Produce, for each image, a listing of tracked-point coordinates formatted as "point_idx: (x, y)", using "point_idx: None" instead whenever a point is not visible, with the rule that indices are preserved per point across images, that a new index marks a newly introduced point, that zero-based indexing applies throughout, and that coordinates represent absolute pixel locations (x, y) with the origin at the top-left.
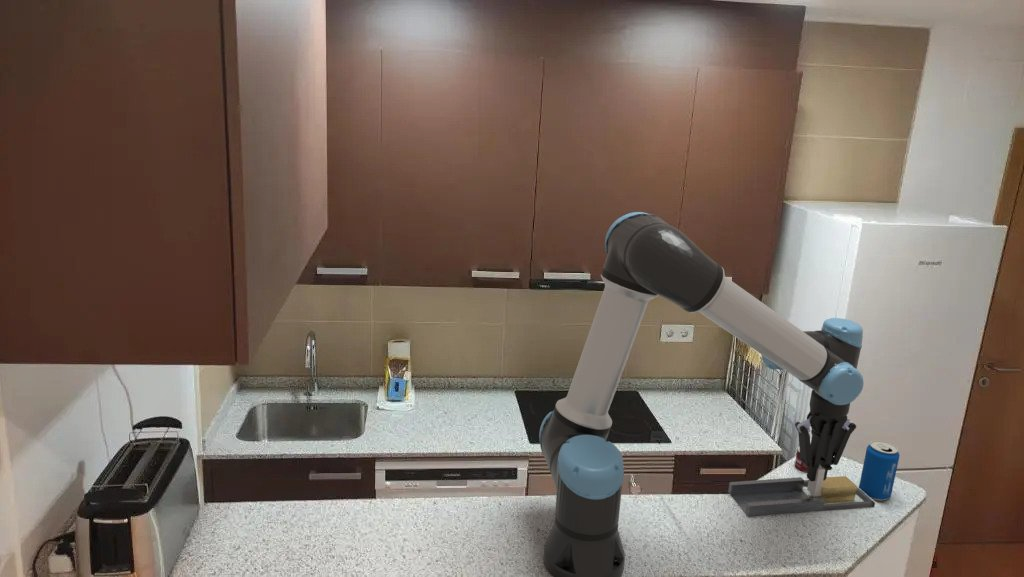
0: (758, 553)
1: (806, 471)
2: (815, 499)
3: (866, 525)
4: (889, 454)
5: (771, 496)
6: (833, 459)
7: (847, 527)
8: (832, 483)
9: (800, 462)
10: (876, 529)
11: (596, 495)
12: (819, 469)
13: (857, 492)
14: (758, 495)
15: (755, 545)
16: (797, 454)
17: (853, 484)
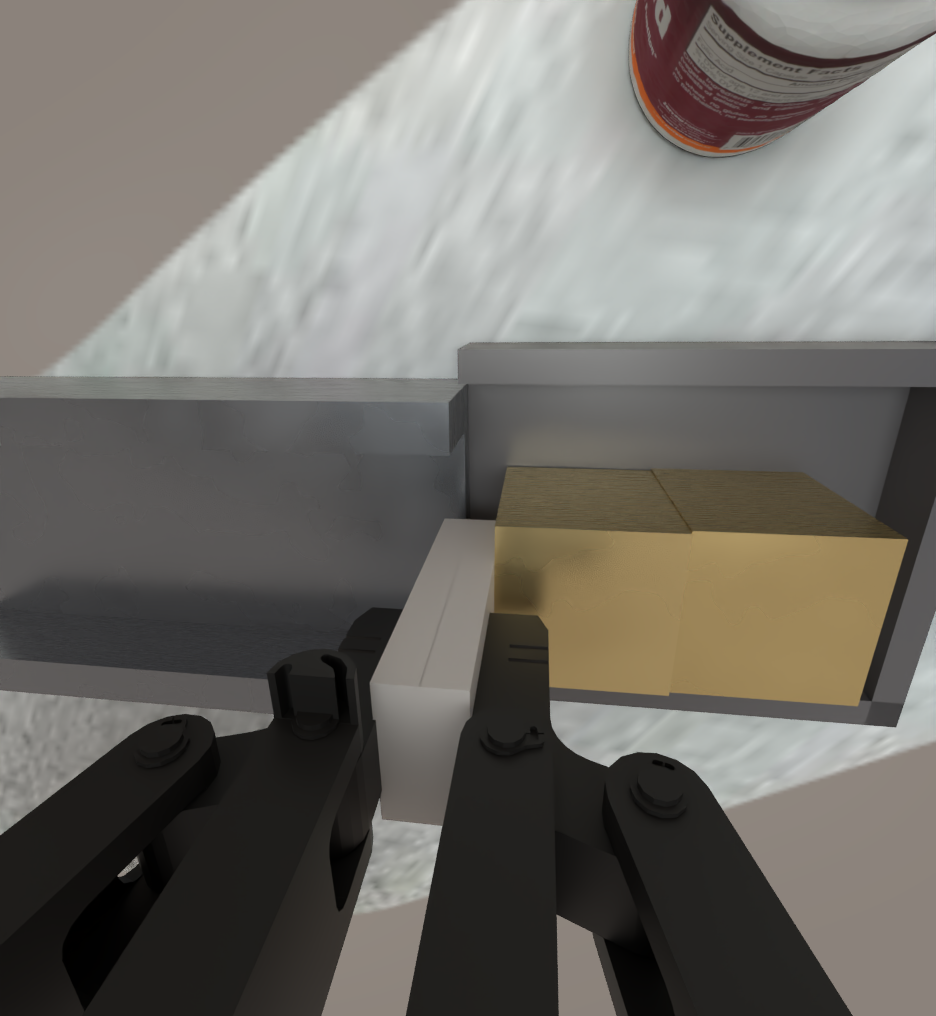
0: (46, 792)
1: (694, 126)
2: None
3: (691, 750)
4: None
5: (190, 476)
6: (605, 967)
7: (563, 742)
8: (634, 637)
9: (663, 20)
10: (721, 785)
11: None
12: (393, 815)
13: (901, 563)
14: (102, 451)
15: (44, 752)
16: None
17: (845, 677)
